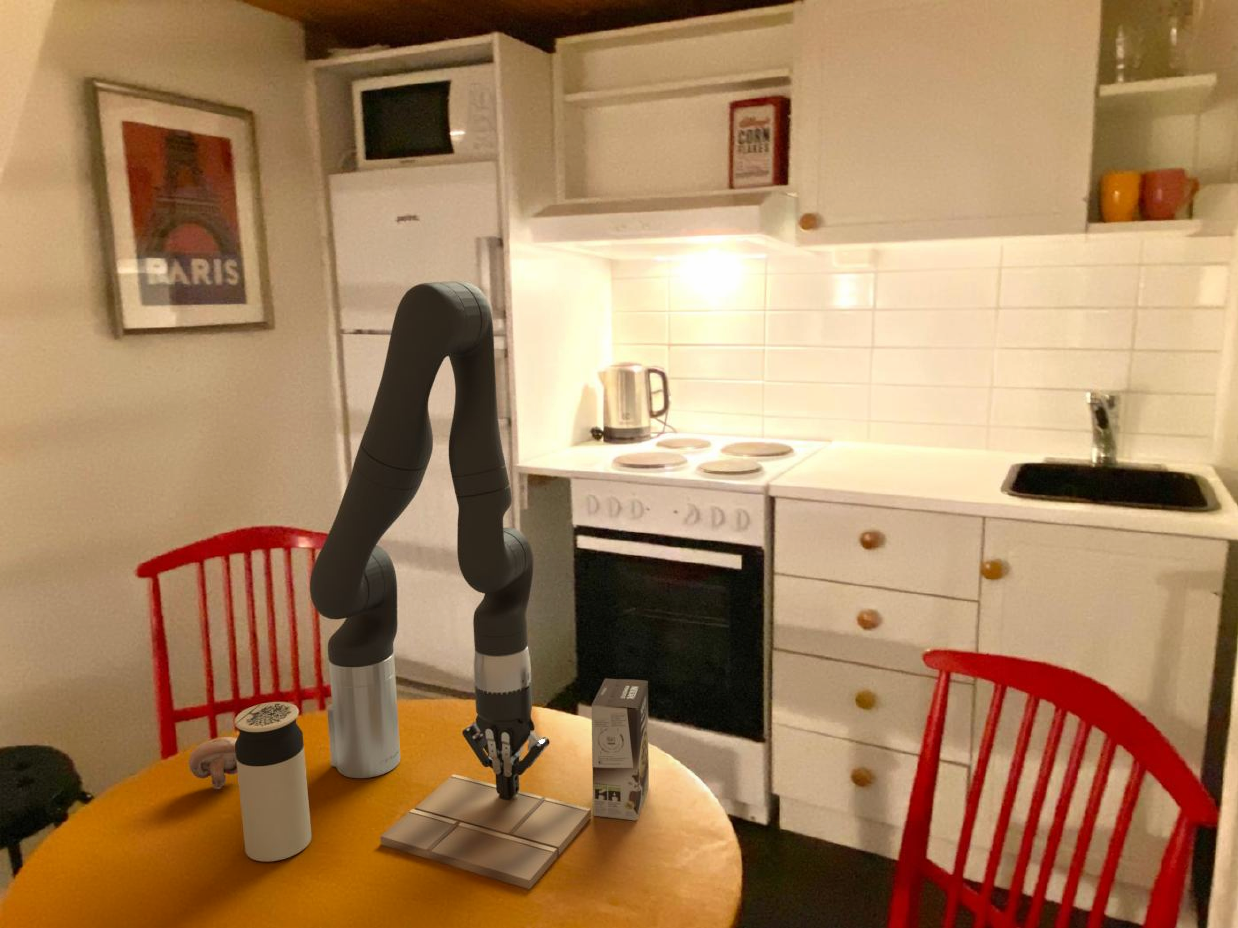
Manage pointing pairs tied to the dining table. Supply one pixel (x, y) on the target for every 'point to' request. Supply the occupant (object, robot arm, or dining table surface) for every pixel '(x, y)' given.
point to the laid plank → (470, 848)
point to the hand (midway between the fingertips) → (508, 796)
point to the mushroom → (214, 760)
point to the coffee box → (620, 748)
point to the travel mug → (272, 781)
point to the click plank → (507, 812)
